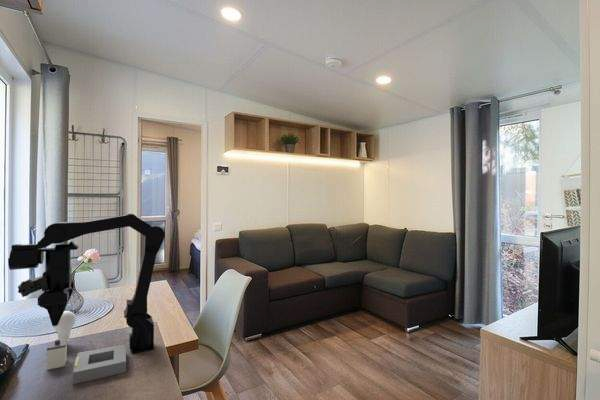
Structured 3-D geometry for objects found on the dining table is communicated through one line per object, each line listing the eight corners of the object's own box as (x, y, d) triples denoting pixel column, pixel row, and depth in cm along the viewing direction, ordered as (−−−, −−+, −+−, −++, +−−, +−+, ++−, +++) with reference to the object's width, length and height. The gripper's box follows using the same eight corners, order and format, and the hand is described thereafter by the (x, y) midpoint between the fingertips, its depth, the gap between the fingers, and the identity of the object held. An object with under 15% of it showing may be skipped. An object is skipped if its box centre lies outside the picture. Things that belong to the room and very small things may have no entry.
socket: (124, 353, 96) (125, 343, 96) (125, 372, 86) (126, 360, 86) (77, 363, 90) (77, 352, 90) (72, 384, 80) (72, 371, 80)
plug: (66, 359, 92) (67, 336, 92) (64, 366, 88) (65, 341, 88) (49, 363, 90) (49, 339, 90) (46, 370, 86) (47, 344, 86)
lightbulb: (62, 350, 98) (63, 315, 98) (46, 348, 99) (47, 313, 99) (80, 342, 104) (81, 309, 104) (65, 340, 105) (65, 307, 105)
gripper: (29, 263, 93) (29, 315, 93) (11, 276, 77) (11, 338, 77) (75, 259, 99) (74, 308, 99) (67, 271, 83) (66, 329, 83)
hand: (57, 320), depth 89 cm, fingers open, 9 cm apart
